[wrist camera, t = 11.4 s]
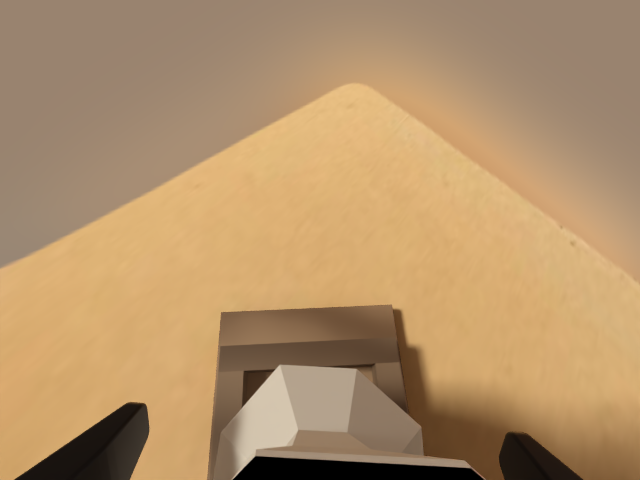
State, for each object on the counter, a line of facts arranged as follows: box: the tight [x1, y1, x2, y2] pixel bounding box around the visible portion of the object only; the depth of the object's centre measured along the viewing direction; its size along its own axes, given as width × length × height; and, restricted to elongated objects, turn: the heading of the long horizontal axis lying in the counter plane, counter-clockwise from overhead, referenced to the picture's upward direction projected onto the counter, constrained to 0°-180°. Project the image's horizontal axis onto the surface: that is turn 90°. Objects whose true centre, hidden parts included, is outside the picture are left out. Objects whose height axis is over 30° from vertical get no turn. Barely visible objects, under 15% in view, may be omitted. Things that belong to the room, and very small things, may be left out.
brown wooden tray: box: [207, 305, 409, 480], centre depth 19 cm, size 16×12×2 cm
